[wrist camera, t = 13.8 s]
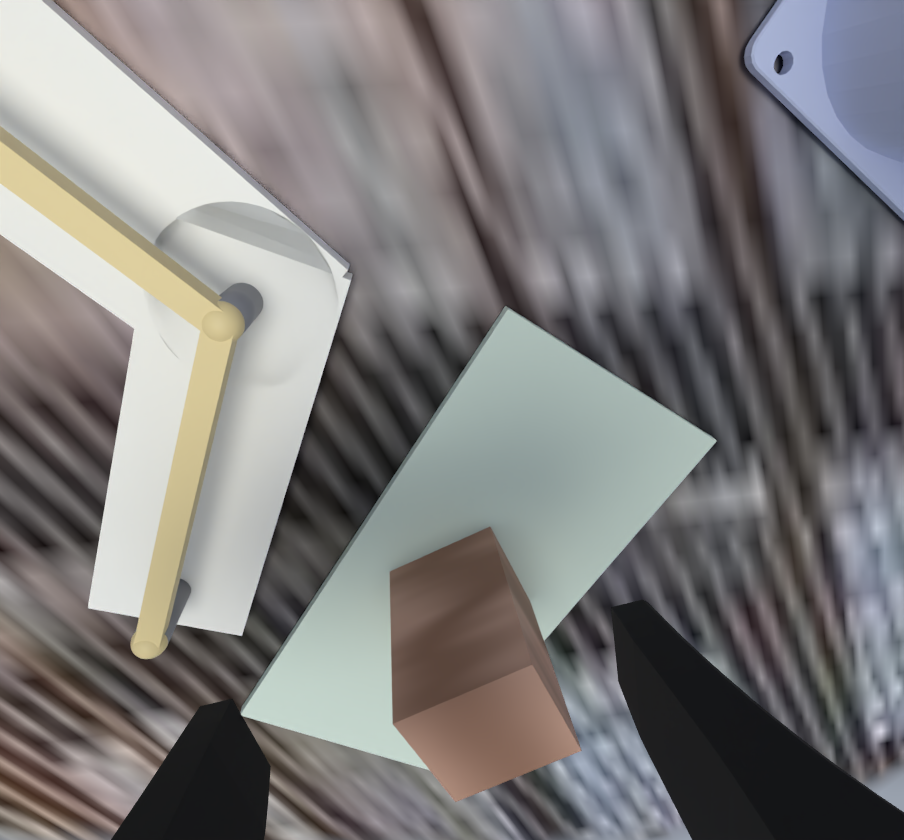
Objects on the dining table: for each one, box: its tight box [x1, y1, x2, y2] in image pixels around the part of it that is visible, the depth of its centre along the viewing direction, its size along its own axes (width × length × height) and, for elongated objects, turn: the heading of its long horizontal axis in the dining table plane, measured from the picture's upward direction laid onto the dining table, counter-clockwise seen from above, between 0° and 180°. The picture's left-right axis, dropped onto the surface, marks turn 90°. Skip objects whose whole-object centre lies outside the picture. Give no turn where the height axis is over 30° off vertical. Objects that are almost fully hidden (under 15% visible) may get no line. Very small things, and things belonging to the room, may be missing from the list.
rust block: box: [390, 527, 582, 802], centre depth 18 cm, size 4×4×6 cm
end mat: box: [241, 306, 717, 770], centre depth 21 cm, size 9×19×1 cm, turn 147°
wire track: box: [0, 0, 353, 659], centre depth 14 cm, size 17×17×4 cm
